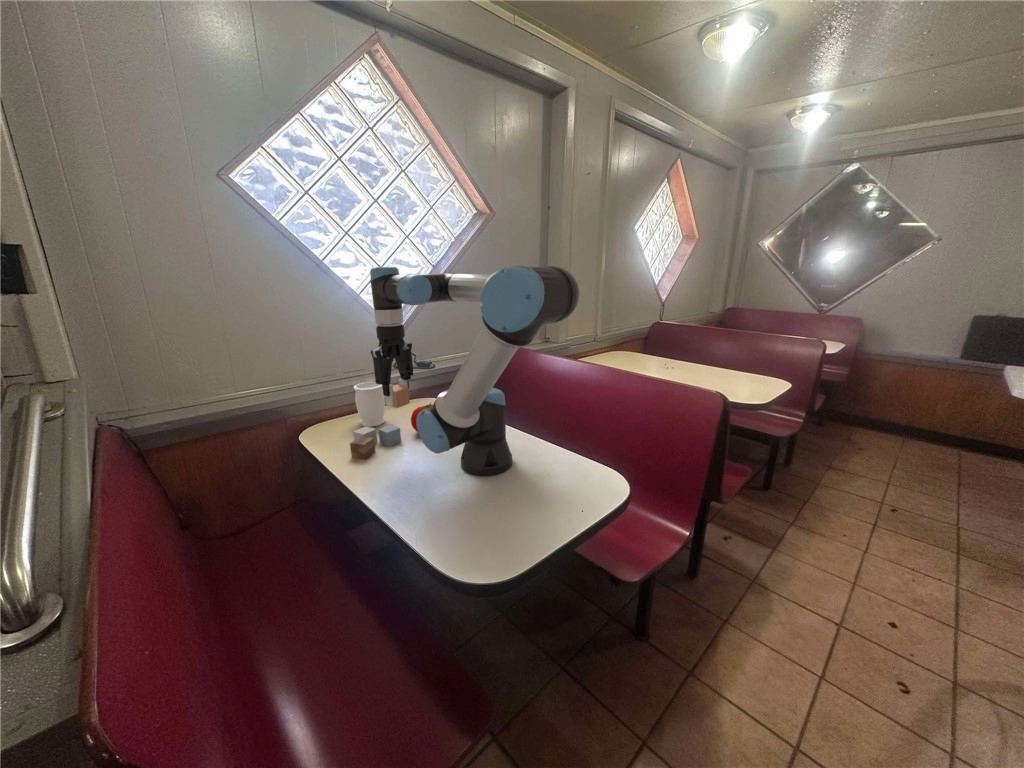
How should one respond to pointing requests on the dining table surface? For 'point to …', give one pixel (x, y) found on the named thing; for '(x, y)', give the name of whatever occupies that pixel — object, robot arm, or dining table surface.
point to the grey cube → (366, 433)
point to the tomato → (416, 412)
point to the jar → (370, 403)
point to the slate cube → (389, 435)
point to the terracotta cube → (400, 396)
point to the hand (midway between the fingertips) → (397, 402)
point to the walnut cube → (362, 447)
